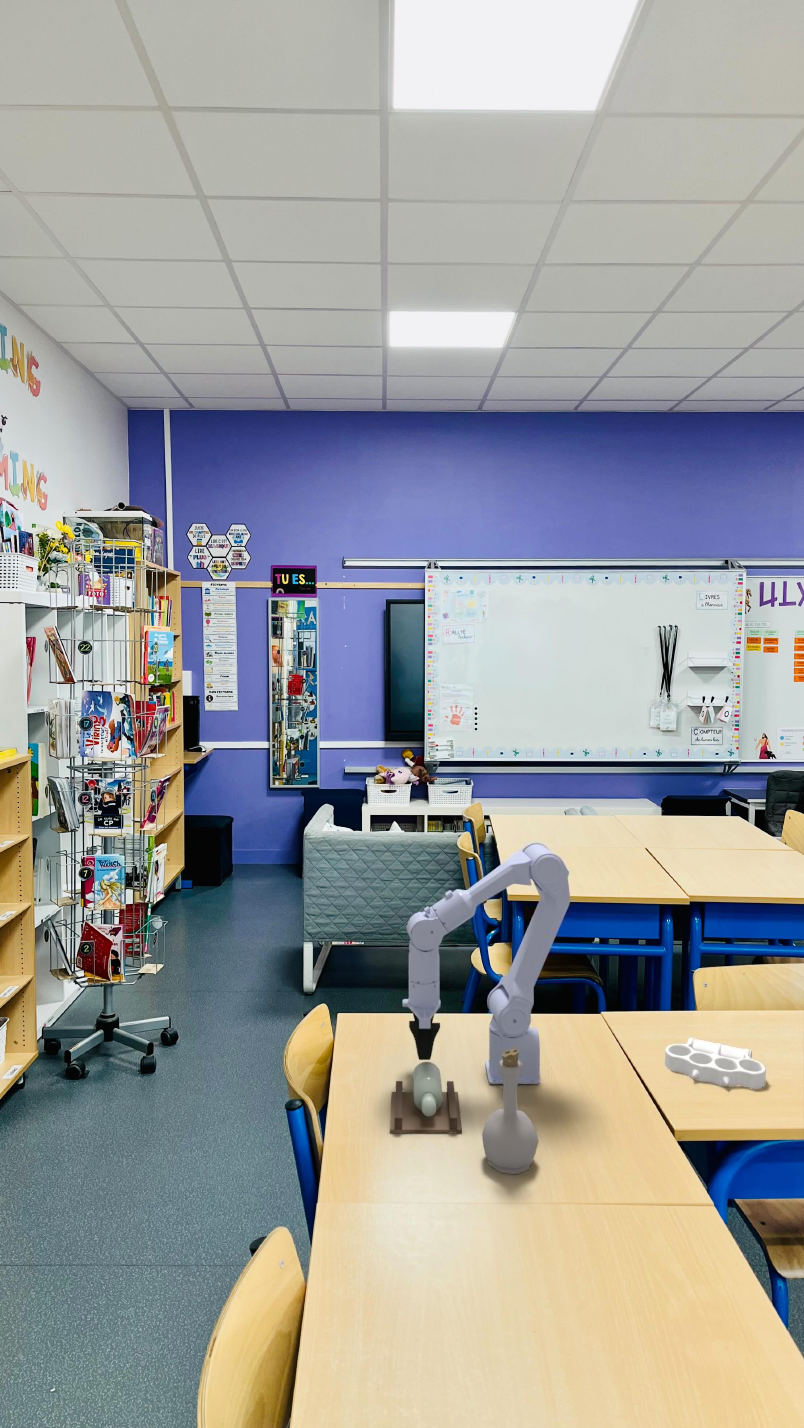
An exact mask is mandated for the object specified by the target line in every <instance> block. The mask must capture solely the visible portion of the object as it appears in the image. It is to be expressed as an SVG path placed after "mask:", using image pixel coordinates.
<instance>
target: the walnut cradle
mask: <svg viewBox="0 0 804 1428" xmlns="http://www.w3.org/2000/svg"><path fill="white" fill-rule="evenodd" d="M403 1086H404V1085H403V1080H395V1091H391V1099H390V1101H391V1102H390V1121H389V1122H390V1124H389V1125H390V1126H389V1127H390V1129H389V1134H435V1133H434V1132H456V1133H455V1134H463V1127H462V1126H463V1125H462V1117H461V1116H462V1115H461V1108H460V1100H459V1091H455V1084H454V1080H453V1081H452V1080H447V1081H446V1091H442V1095H443V1101H442V1104H441V1106H440V1107H439V1108H438V1109H437V1110H436V1112H435V1114H434V1115H432V1116H426V1115H424V1114H423V1112H422V1111H421V1110H419V1109H418V1108H417V1106H416V1105H415V1103H414V1091H403Z"/></svg>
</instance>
